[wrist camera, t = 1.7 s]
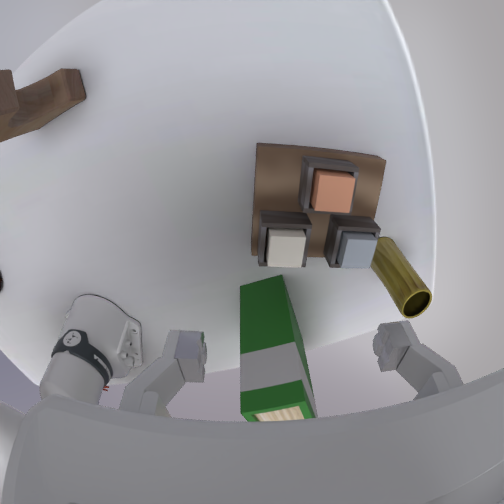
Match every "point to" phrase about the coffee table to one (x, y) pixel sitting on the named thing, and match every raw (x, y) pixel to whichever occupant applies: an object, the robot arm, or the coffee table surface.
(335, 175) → the terracotta button
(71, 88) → the decorative block
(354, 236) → the slate button
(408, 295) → the vase
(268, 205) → the block sorting tray
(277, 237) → the cream button
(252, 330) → the hardback book
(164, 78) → the coffee table surface
